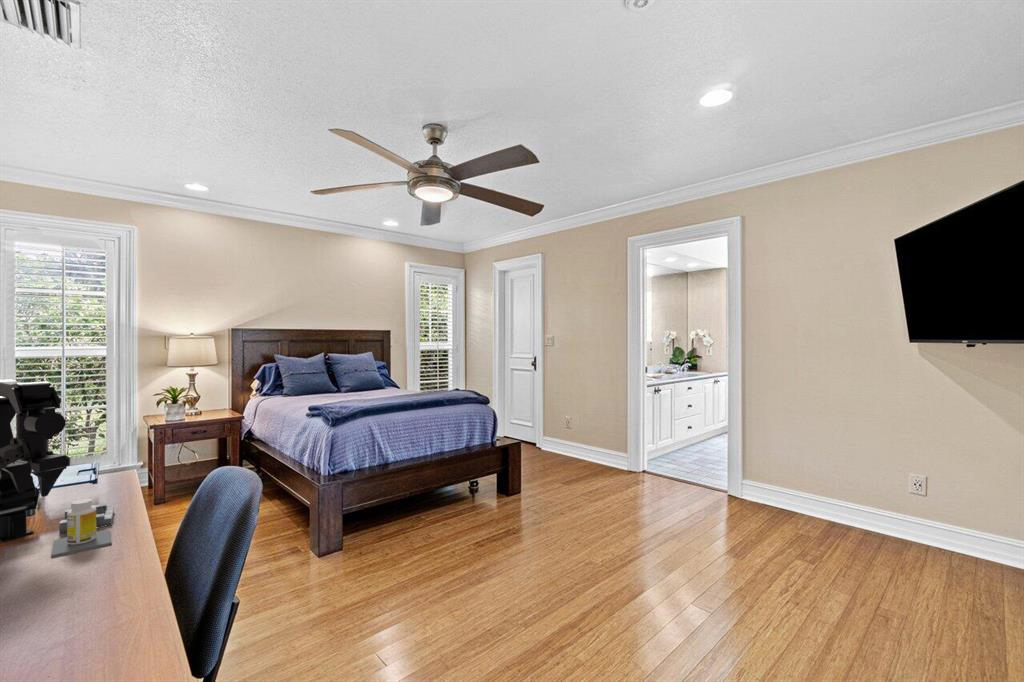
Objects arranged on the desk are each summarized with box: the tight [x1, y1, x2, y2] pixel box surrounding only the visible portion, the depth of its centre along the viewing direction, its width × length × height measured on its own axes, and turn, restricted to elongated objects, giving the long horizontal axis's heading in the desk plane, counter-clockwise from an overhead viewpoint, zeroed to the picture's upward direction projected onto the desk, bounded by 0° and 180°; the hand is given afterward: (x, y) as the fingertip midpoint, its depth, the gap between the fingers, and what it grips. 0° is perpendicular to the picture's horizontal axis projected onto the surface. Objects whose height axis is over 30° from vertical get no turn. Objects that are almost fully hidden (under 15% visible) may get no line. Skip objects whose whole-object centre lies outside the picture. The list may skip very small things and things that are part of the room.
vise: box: [58, 502, 115, 535], centre depth 134 cm, size 17×11×3 cm, turn 37°
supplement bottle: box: [66, 498, 97, 545], centre depth 122 cm, size 6×6×10 cm
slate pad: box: [50, 529, 112, 558], centre depth 122 cm, size 11×11×1 cm
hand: (32, 494), depth 120 cm, fingers open, 9 cm apart
